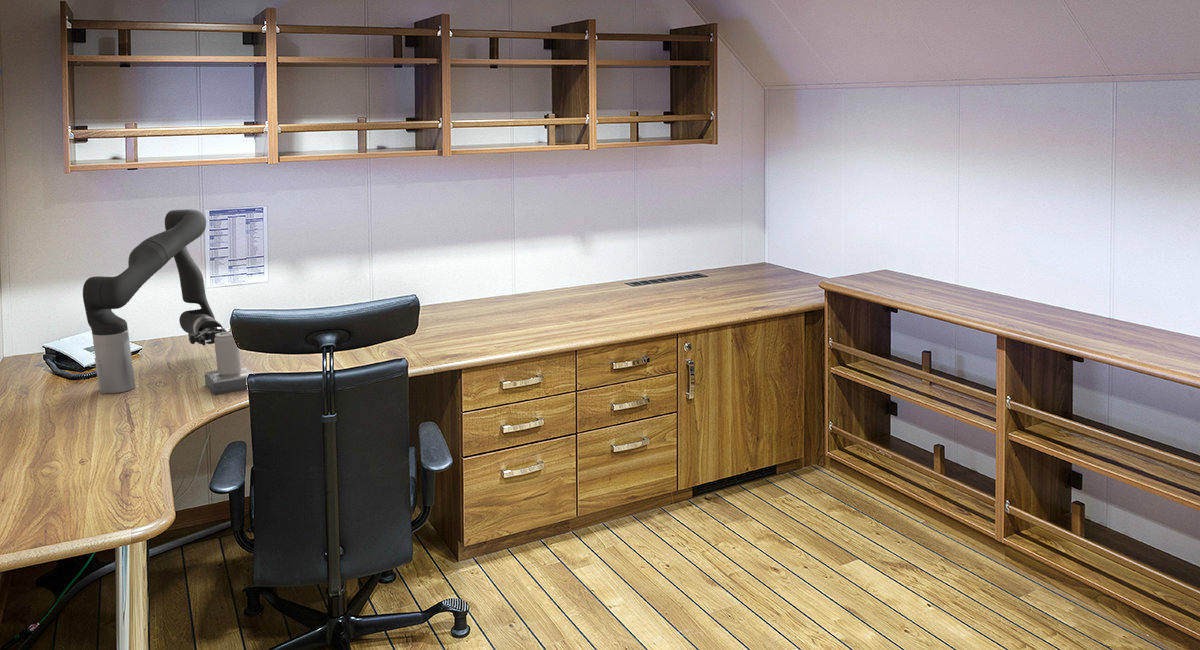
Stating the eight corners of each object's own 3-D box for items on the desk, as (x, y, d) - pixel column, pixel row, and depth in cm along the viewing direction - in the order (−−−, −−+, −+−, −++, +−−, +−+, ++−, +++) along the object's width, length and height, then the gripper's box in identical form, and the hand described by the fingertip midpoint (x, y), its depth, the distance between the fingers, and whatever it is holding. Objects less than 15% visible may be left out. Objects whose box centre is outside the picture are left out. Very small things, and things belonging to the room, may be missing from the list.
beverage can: (233, 369, 281) (229, 329, 278) (245, 372, 277) (241, 332, 274) (213, 374, 276) (209, 334, 273) (225, 377, 272) (221, 337, 270)
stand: (214, 395, 269) (212, 381, 269) (205, 385, 279) (204, 372, 278) (257, 388, 276) (256, 374, 275) (247, 378, 286) (246, 365, 285)
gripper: (182, 320, 292) (192, 330, 279) (230, 314, 300) (242, 324, 286) (184, 344, 294) (195, 355, 281) (232, 338, 301) (245, 348, 288)
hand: (219, 339), depth 284 cm, fingers open, 8 cm apart
